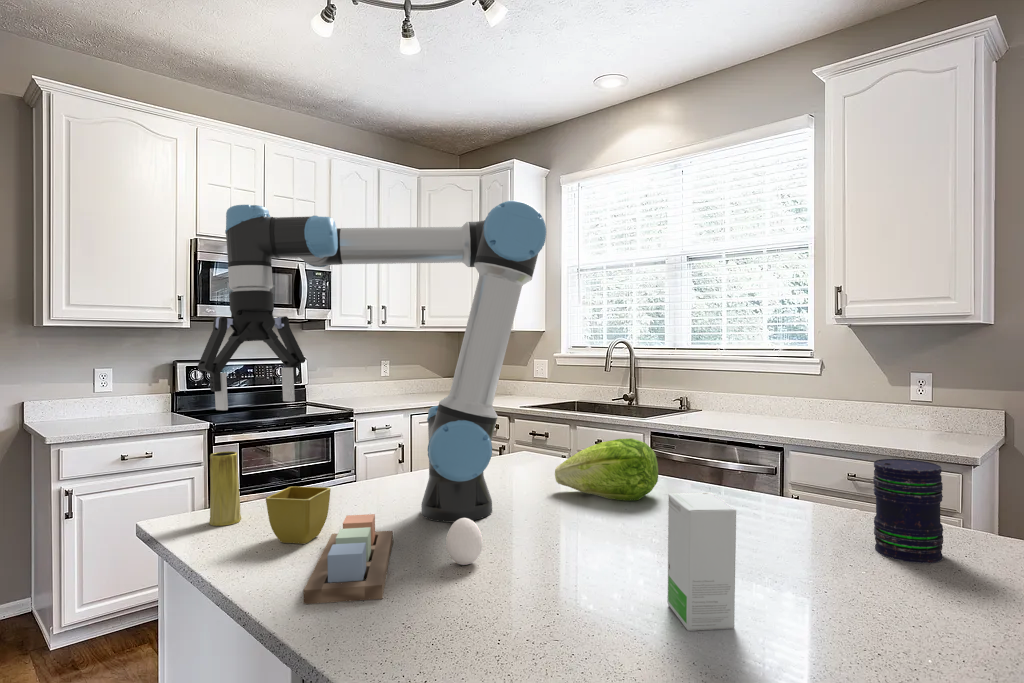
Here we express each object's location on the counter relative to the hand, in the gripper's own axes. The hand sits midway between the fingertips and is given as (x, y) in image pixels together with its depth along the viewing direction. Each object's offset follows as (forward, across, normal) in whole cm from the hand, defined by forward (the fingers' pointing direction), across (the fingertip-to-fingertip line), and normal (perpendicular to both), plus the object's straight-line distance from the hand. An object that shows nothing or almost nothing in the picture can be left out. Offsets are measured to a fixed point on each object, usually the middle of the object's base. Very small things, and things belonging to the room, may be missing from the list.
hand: (257, 405), depth 117 cm
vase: (+26, -3, -19) cm, 32 cm away
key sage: (+24, -1, +25) cm, 35 cm away
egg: (+27, -12, +38) cm, 48 cm away
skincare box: (+28, -14, +77) cm, 83 cm away
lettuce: (+28, -64, +37) cm, 80 cm away
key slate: (+24, +5, +30) cm, 39 cm away
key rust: (+24, -6, +19) cm, 32 cm away
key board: (+26, 0, +25) cm, 36 cm away
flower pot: (+26, -5, +4) cm, 27 cm away
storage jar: (+29, -57, +98) cm, 117 cm away
